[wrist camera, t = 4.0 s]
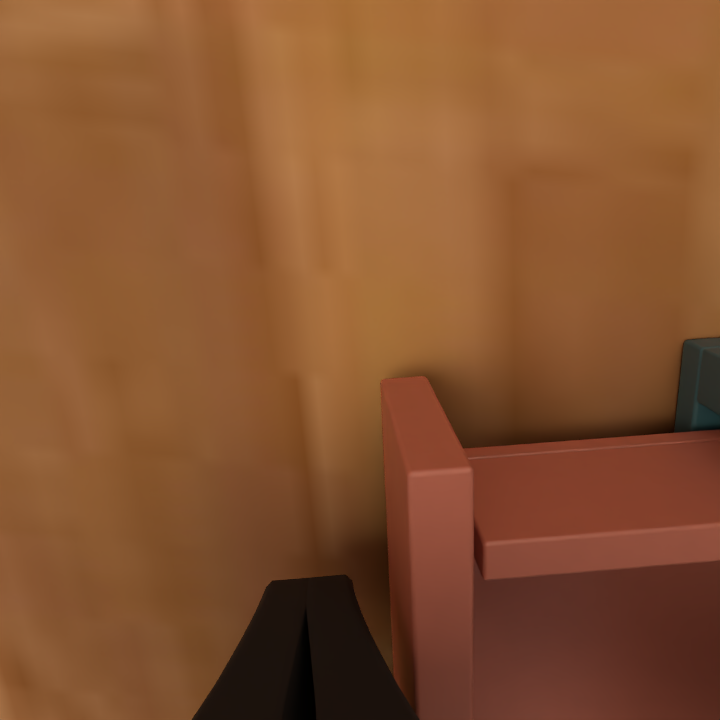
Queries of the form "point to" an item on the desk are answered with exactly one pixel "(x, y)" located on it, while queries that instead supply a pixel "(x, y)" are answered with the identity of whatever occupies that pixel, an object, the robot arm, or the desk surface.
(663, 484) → the drawer
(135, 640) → the desk surface
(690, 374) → the teal drawer box
